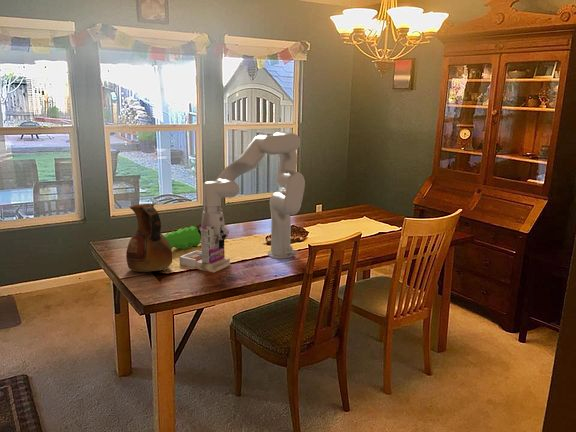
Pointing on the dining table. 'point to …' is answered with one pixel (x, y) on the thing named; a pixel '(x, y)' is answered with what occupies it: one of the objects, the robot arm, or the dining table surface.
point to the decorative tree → (184, 238)
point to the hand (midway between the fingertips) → (212, 246)
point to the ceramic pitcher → (148, 242)
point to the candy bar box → (210, 246)
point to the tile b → (195, 257)
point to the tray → (189, 259)
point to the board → (213, 265)
